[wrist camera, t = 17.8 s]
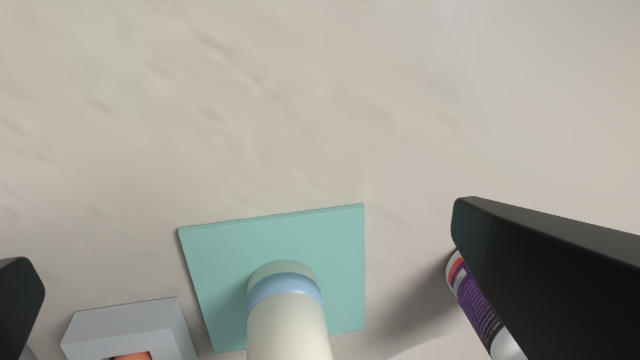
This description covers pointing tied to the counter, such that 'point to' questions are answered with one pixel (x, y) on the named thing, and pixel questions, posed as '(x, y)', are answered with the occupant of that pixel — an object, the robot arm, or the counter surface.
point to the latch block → (130, 332)
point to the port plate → (27, 354)
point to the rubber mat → (270, 245)
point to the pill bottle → (480, 312)
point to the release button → (135, 356)
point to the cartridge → (285, 314)
